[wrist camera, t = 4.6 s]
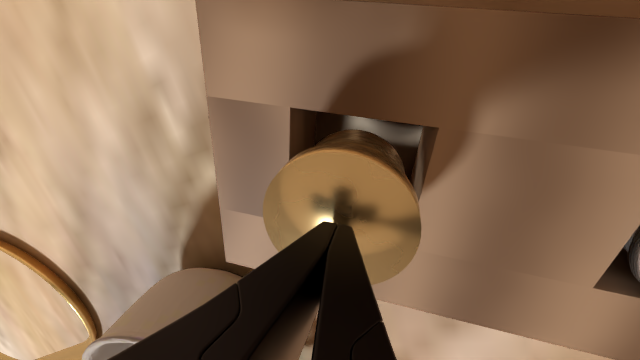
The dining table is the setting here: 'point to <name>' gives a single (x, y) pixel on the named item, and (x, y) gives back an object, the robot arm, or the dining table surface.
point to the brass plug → (348, 199)
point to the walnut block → (452, 149)
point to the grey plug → (634, 253)
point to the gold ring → (73, 355)
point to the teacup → (160, 308)
